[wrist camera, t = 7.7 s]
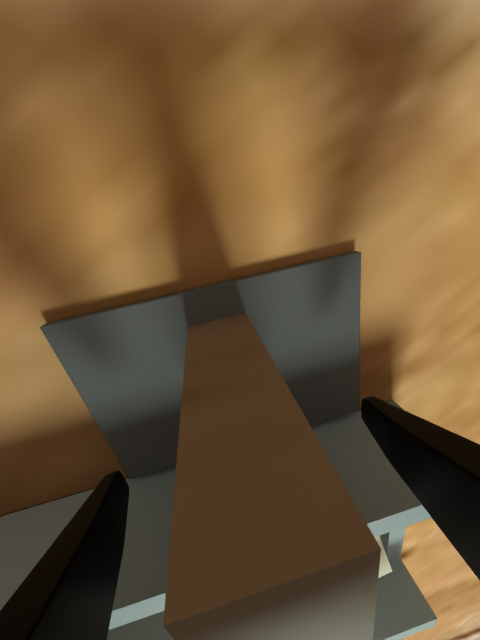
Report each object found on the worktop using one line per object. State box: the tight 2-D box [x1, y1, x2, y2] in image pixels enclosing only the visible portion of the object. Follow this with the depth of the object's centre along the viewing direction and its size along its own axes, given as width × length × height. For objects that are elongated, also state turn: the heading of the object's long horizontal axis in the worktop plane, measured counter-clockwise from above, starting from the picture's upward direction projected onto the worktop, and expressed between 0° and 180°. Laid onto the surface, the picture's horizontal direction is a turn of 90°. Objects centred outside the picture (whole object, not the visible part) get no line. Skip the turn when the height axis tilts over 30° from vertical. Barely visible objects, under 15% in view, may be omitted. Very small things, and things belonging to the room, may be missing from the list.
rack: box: [0, 400, 437, 640], centre depth 14 cm, size 15×26×5 cm, turn 101°
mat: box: [40, 251, 361, 479], centre depth 11 cm, size 9×13×1 cm
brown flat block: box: [163, 313, 381, 640], centre depth 8 cm, size 7×2×8 cm, turn 11°
